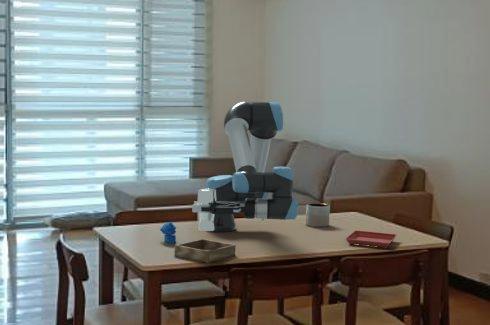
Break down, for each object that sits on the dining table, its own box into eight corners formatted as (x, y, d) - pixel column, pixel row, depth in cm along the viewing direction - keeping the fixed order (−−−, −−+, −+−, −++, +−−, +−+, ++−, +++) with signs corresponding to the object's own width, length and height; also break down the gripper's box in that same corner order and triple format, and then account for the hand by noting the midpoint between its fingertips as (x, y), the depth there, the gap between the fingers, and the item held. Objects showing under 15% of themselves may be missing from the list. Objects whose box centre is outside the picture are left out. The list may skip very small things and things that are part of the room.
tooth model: (196, 228, 284) (197, 188, 283) (215, 228, 285) (216, 188, 283) (197, 231, 277) (198, 190, 276) (216, 231, 278) (217, 191, 276)
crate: (174, 255, 280) (174, 245, 280) (202, 248, 293) (202, 238, 293) (207, 262, 271) (208, 251, 270) (235, 255, 283) (235, 244, 283)
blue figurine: (171, 222, 311) (183, 220, 301) (172, 242, 310) (184, 241, 300) (155, 223, 307) (167, 222, 298) (156, 244, 307) (168, 243, 297)
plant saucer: (389, 250, 301) (389, 242, 301) (344, 246, 308) (345, 238, 307) (397, 242, 318) (397, 234, 318) (354, 237, 325) (354, 230, 324)
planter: (333, 225, 351) (334, 204, 350) (322, 228, 342) (323, 207, 341) (312, 222, 357) (313, 202, 356) (301, 225, 348) (302, 204, 347)
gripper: (255, 223, 270) (190, 221, 271) (255, 214, 290) (195, 212, 290) (255, 202, 270) (191, 200, 270) (255, 194, 289) (195, 192, 290)
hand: (193, 206), depth 280 cm, fingers closed on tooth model, 7 cm apart
